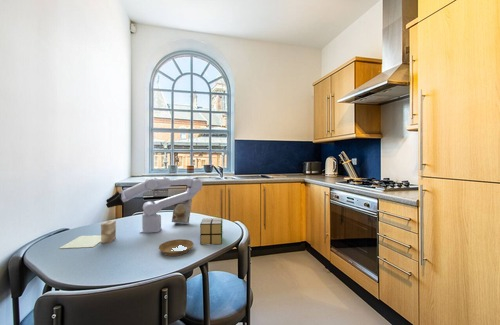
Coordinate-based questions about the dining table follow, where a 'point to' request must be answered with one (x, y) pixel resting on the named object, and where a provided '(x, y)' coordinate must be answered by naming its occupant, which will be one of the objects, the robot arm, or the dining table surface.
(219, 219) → the puzzle cube
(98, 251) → the dining table surface
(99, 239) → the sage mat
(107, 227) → the birch block
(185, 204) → the coffee box
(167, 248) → the plant saucer
